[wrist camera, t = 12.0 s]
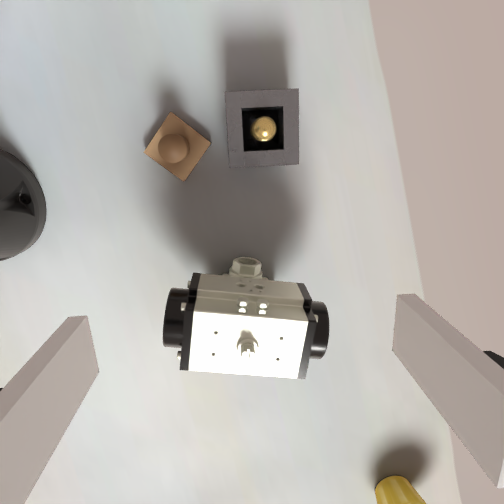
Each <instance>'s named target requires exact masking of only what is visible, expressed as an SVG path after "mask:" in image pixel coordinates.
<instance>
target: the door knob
mask: <svg viewBox="0 0 504 504" xmlns="http://www.w3.org/2000/svg"><path fill="white" fill-rule="evenodd" d="M242 129H243V149H244V150H258V149H278V110H259V111H242Z"/></svg>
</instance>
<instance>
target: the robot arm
mask: <svg viewBox="0 0 504 504" xmlns="http://www.w3.org/2000/svg"><path fill="white" fill-rule="evenodd" d="M45 221H46V203H45V199H44V195H43V192H42V190H41V187H40V185H39V183H38V182H37V180H36V178H35V177H34V175H33V174H32V173H31V172H30V170H29V169H28V168H27V167H26V166H25V165H24V164H23V163H22V162H21V161H19V160H18V159H17V158H15V157H14V156H13V155H11V154H9V153H8V152H6V151H4V150H2V149H0V261H2V260H6V259H9V258H12V257H14V256H16V255H18V254H19V253H21V252H23V251H25V250H27V249H28V248H29V247H31V246H32V245H33V244H34V243H35V242H36V241H37V239H38V238H39V236H40V235H41V233H42V231H43V228H44V225H45ZM392 351H393V352H394V353H395V355H396V356H397V357H398V358H399V360H400V361H401V362H402V364H403V365H404V366H405V368H406V369H407V370H408V372H409V373H410V374H411V376H412V377H413V378H414V380H415V381H416V382H417V384H418V385H419V386H420V388H421V389H422V390H423V391H424V393H425V394H426V395H427V397H428V398H429V399H430V401H431V402H432V403H433V405H434V406H435V407H436V409H437V410H438V411H439V413H440V414H441V415H442V417H443V418H444V419H445V421H446V422H447V423H448V424H449V426H450V427H451V428H452V430H453V431H454V432H455V434H456V435H457V436H458V438H459V439H460V440H461V442H462V443H463V444H464V446H465V447H466V448H467V449H468V451H469V452H470V453H471V455H472V456H473V457H474V459H475V460H476V461H477V463H478V464H479V465H480V467H481V468H482V469H483V471H484V472H485V473H486V475H487V476H488V477H489V479H490V480H491V481H492V482H493V484H494V485H495V487H496V488H504V358H503V357H501V356H499V355H497V354H495V353H493V352H491V351H481V350H480V349H479V348H478V347H477V346H476V345H474V344H473V343H472V342H471V341H470V340H469V339H467V338H466V337H465V336H464V335H463V334H462V333H460V332H459V331H458V330H457V329H456V328H454V327H453V326H452V325H451V324H450V323H449V322H447V321H446V320H445V319H444V318H443V317H442V316H440V315H439V314H438V313H437V312H435V311H434V310H433V309H432V308H431V307H430V306H429V305H427V304H426V303H425V302H424V301H423V300H421V299H420V298H419V297H418V296H417V295H416V294H402V295H397V302H396V313H395V325H394V336H393V347H392ZM98 373H99V368H98V364H97V359H96V354H95V350H94V345H93V340H92V336H91V331H90V326H89V322H88V317H87V316H75V317H68V318H67V319H66V320H65V321H64V322H63V323H62V325H61V326H60V327H59V328H58V329H57V330H56V331H55V332H54V333H53V334H52V335H51V337H50V338H49V339H48V340H47V341H46V342H45V343H44V344H43V345H42V346H41V348H40V349H39V350H38V351H37V352H36V353H35V354H34V355H33V356H32V357H31V358H30V360H29V361H28V362H27V363H26V364H25V365H24V366H23V367H22V368H21V369H20V370H19V372H18V373H17V374H16V375H15V376H14V377H13V378H12V379H11V380H10V381H9V382H8V384H7V385H6V386H5V387H4V388H0V504H24V503H25V501H26V500H27V498H28V496H29V494H30V493H31V491H32V489H33V487H34V486H35V484H36V482H37V480H38V479H39V477H40V475H41V473H42V471H43V470H44V468H45V466H46V464H47V463H48V461H49V459H50V457H51V456H52V454H53V452H54V450H55V449H56V447H57V445H58V443H59V442H60V440H61V438H62V436H63V435H64V433H65V431H66V429H67V427H68V426H69V424H70V422H71V420H72V419H73V417H74V415H75V413H76V412H77V410H78V408H79V406H80V405H81V403H82V401H83V399H84V398H85V396H86V394H87V392H88V391H89V389H90V387H91V385H92V383H93V382H94V380H95V378H96V376H97V375H98Z"/></svg>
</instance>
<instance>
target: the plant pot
mask: <svg viewBox="0 0 504 504" xmlns="http://www.w3.org/2000/svg"><path fill="white" fill-rule="evenodd" d="M375 495H376V499H377V504H426V503H425V501H424V500H423V499H422V498H421V497H420V495H419V494H418V493H417V491H416V490H415V489H414V488H413V487H412V485H411V484H410V483H409V481H408V480H407V479H406V478H404V477H402V476H389V477H387V478H385V479H383V480H381V481H380V482H379V483H378V485H377V486H376V490H375Z"/></svg>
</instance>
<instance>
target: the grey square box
mask: <svg viewBox="0 0 504 504" xmlns="http://www.w3.org/2000/svg"><path fill="white" fill-rule="evenodd" d="M225 103H226V119H227V134H228V150H229V166H230V168H236V167H255V166H275V165H294V164H299V89H276V90H253V91H230V92H225ZM259 110H278V149H258V150H244V149H243V129H242V111H259Z"/></svg>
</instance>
